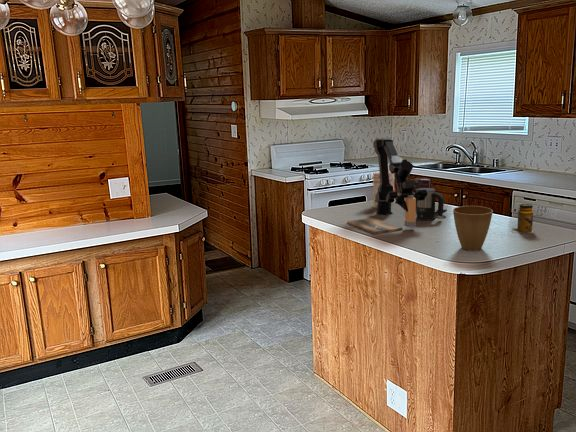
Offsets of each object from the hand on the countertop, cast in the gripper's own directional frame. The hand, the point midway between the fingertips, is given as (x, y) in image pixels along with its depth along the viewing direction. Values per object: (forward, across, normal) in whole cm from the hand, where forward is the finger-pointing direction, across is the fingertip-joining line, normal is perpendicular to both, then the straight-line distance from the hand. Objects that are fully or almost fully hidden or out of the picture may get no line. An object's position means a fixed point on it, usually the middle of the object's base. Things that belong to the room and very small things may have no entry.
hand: (411, 211), depth 246 cm
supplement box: (-24, +24, +37) cm, 50 cm away
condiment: (+19, +45, -6) cm, 49 cm away
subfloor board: (-2, -14, +15) cm, 21 cm away
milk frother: (-8, +19, +22) cm, 30 cm away
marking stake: (+4, 0, +6) cm, 7 cm away
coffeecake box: (-33, +7, +47) cm, 58 cm away
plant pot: (+31, +11, -18) cm, 38 cm away
